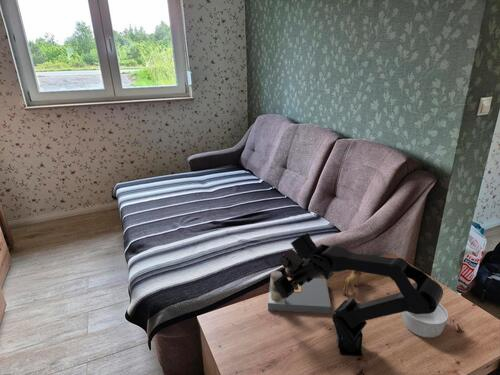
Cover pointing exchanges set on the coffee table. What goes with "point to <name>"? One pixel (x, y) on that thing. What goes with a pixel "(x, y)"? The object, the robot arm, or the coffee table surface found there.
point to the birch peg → (274, 295)
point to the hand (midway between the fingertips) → (282, 283)
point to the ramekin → (426, 322)
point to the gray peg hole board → (304, 298)
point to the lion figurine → (351, 282)
